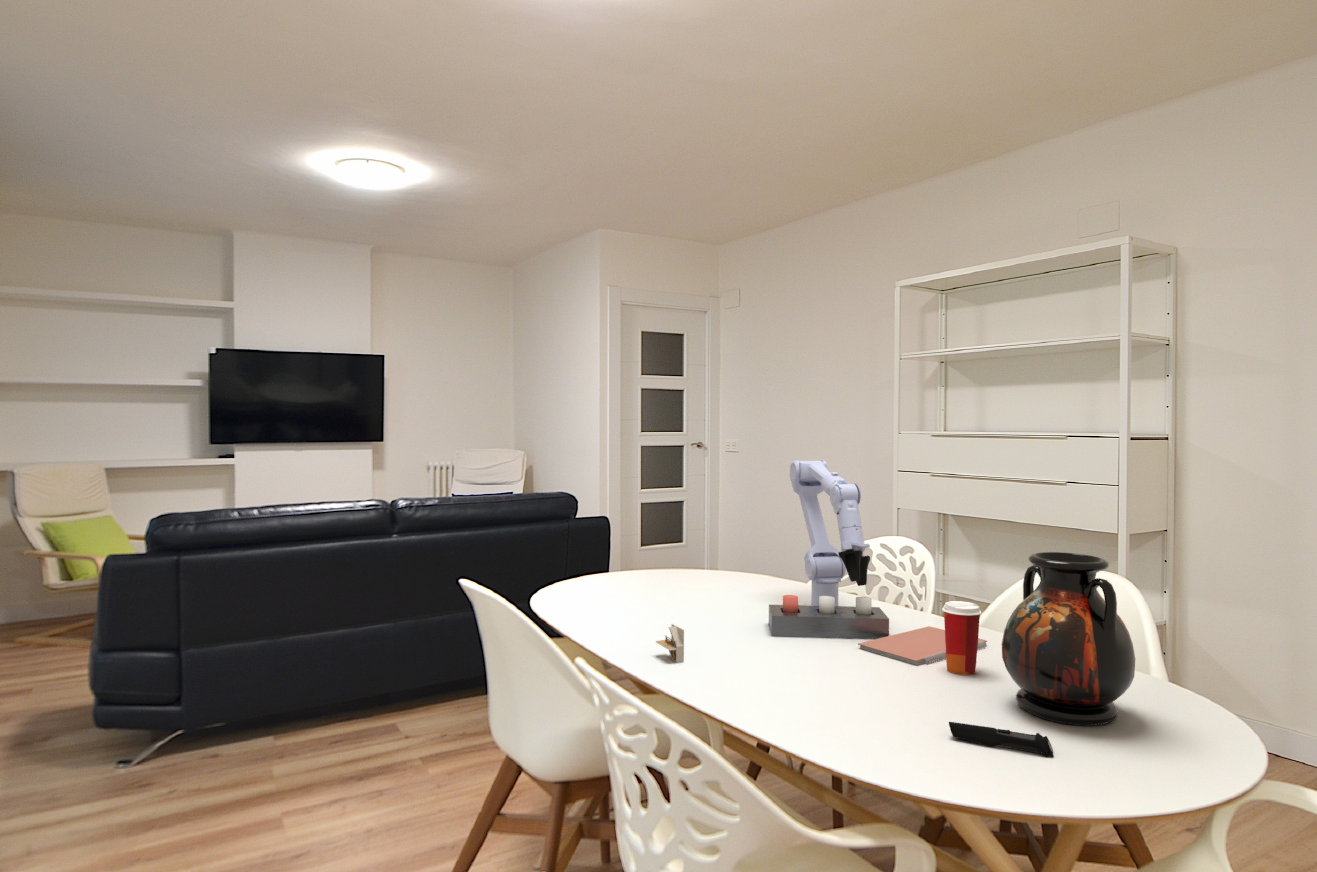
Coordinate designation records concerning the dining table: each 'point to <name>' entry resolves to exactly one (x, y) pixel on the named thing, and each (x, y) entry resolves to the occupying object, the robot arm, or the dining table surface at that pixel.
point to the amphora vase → (1068, 642)
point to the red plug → (790, 604)
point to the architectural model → (674, 643)
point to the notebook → (913, 645)
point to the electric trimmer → (1002, 738)
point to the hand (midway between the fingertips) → (858, 583)
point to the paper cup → (961, 636)
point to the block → (828, 623)
